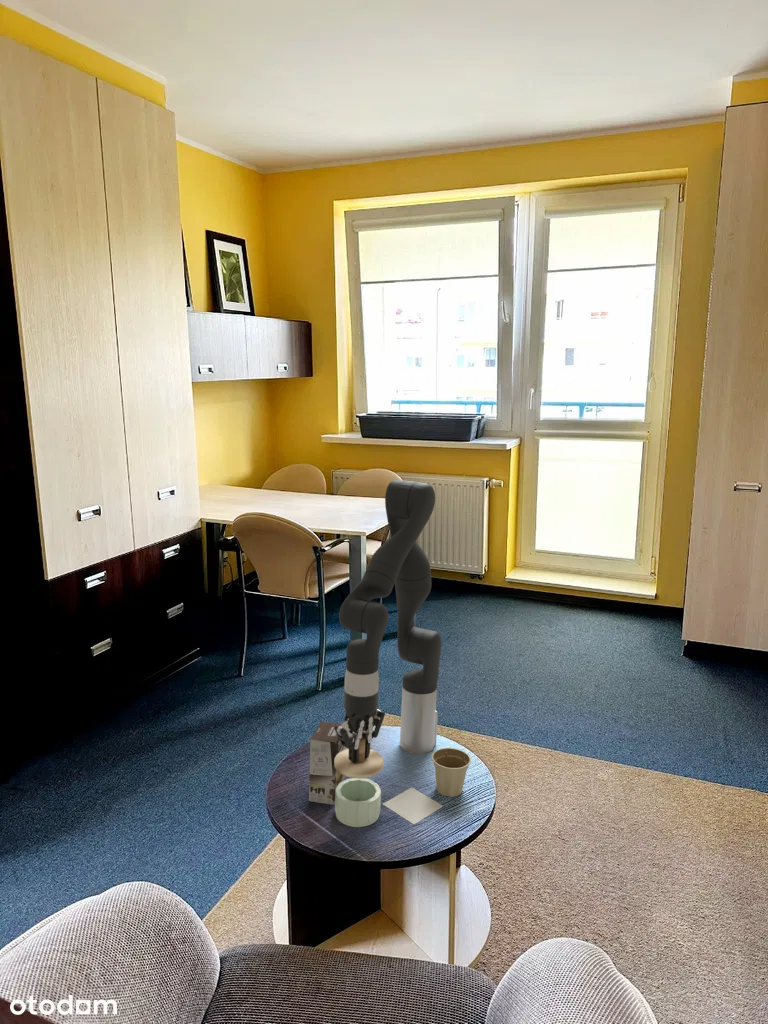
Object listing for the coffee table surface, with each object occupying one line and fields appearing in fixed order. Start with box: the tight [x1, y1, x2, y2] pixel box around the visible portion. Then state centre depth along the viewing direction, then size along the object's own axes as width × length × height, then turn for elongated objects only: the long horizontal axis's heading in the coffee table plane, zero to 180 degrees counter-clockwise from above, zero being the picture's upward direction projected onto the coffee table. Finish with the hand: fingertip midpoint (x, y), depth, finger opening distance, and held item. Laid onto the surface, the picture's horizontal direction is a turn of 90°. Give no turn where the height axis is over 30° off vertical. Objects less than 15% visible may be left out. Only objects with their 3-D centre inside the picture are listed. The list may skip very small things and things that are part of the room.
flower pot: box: [431, 747, 472, 798], centre depth 168 cm, size 9×9×9 cm
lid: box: [334, 737, 384, 779], centre depth 155 cm, size 11×11×6 cm
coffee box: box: [308, 721, 345, 806], centre depth 164 cm, size 9×6×16 cm
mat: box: [382, 787, 444, 825], centre depth 162 cm, size 10×10×1 cm
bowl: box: [334, 777, 382, 828], centre depth 158 cm, size 10×10×6 cm
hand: (359, 759), depth 156 cm, fingers closed on lid, 2 cm apart
